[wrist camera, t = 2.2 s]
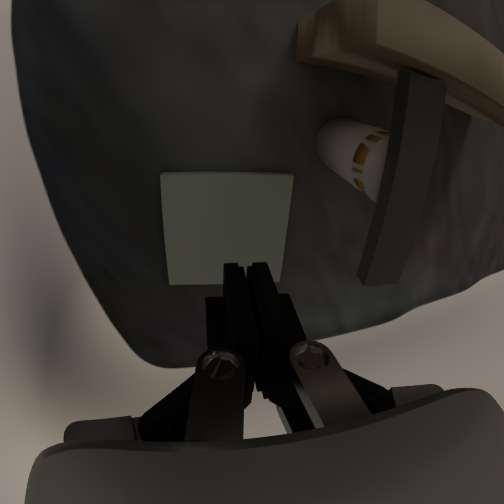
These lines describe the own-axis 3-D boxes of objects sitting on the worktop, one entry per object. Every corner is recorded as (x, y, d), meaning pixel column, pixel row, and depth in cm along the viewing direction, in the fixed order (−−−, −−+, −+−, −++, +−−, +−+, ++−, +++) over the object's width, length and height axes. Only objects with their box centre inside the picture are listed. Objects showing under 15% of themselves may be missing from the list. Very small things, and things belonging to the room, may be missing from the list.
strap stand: (298, 22, 14) (377, -22, 6) (475, 87, 17) (560, 112, 8) (295, 61, 16) (376, 43, 7) (472, 116, 18) (555, 148, 10)
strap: (397, 70, 10) (410, 71, 9) (433, 84, 10) (446, 86, 9) (356, 275, 16) (363, 285, 15) (389, 273, 16) (397, 283, 15)
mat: (161, 172, 18) (160, 174, 18) (291, 173, 20) (293, 175, 19) (170, 280, 23) (169, 284, 23) (277, 277, 24) (279, 281, 24)
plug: (318, 113, 18) (370, 128, 12) (368, 122, 18) (429, 142, 12) (312, 168, 20) (356, 205, 14) (360, 172, 20) (413, 209, 15)
